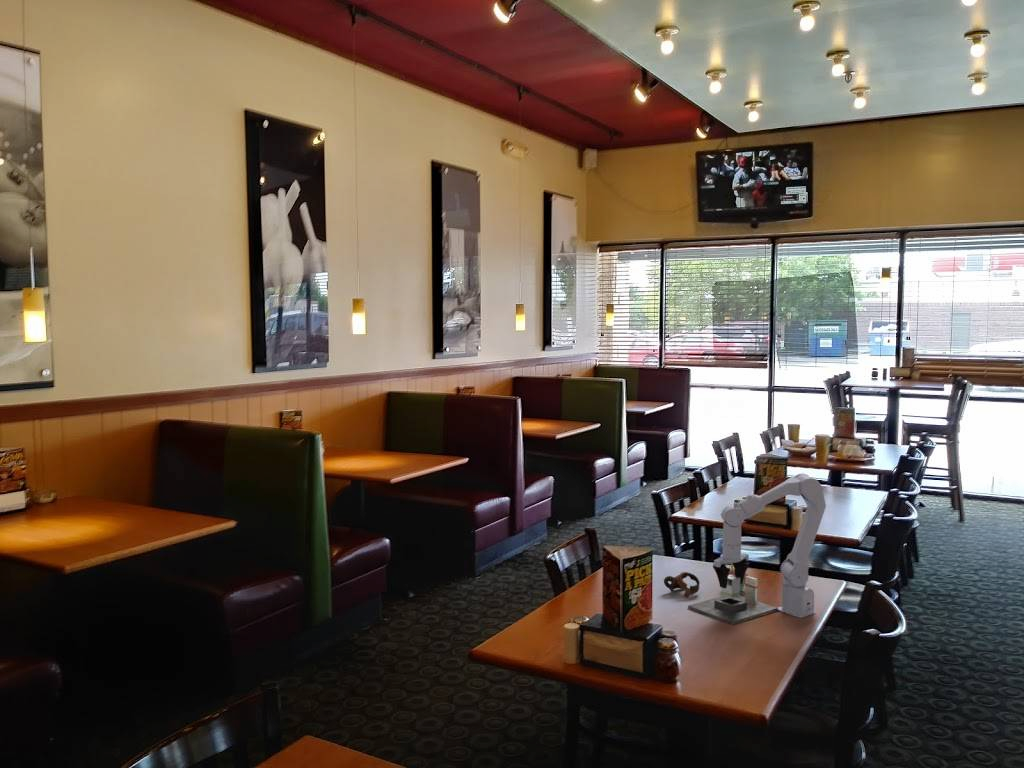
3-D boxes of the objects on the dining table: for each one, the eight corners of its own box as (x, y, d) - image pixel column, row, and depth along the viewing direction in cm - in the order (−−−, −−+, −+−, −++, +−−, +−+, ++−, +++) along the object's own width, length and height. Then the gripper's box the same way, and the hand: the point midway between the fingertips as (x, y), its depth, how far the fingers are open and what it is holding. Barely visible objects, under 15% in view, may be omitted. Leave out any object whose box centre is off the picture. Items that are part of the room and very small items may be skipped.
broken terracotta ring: (691, 589, 288) (700, 572, 284) (694, 609, 279) (703, 592, 275) (658, 581, 287) (667, 564, 283) (661, 601, 278) (670, 583, 274)
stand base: (777, 611, 264) (778, 583, 263) (732, 624, 251) (732, 596, 251) (733, 596, 279) (733, 570, 278) (688, 608, 266) (688, 581, 266)
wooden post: (740, 596, 264) (740, 577, 263) (731, 598, 261) (732, 579, 261) (730, 593, 267) (730, 574, 267) (721, 595, 265) (721, 576, 264)
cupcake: (722, 592, 283) (722, 558, 282) (723, 585, 291) (724, 552, 290) (748, 595, 280) (748, 560, 279) (748, 587, 288) (749, 554, 287)
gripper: (736, 537, 270) (736, 578, 271) (706, 544, 262) (706, 586, 263) (754, 542, 265) (753, 583, 266) (724, 549, 256) (723, 591, 257)
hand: (731, 585), depth 264 cm, fingers open, 7 cm apart
